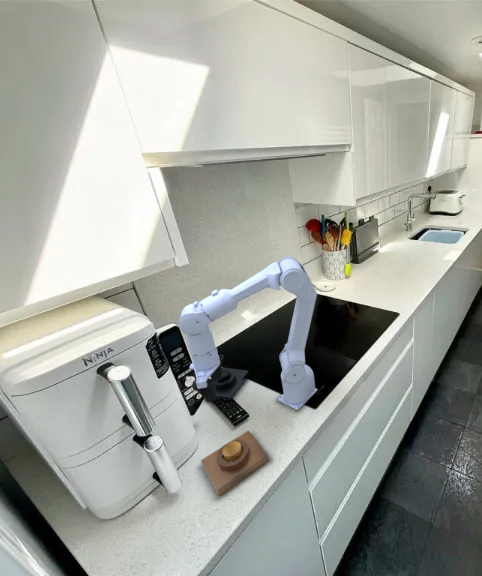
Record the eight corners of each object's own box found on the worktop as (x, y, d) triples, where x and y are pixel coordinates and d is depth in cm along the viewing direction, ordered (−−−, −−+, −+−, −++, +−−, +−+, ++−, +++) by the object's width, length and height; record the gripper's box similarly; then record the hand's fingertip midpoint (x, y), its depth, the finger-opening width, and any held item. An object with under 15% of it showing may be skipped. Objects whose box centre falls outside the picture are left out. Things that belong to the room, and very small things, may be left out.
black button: (221, 372, 100) (220, 368, 99) (232, 374, 99) (231, 370, 98) (213, 381, 96) (212, 377, 96) (225, 383, 96) (224, 378, 95)
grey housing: (222, 372, 105) (220, 363, 104) (249, 375, 104) (247, 366, 102) (199, 398, 95) (196, 388, 93) (229, 402, 93) (226, 392, 91)
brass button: (237, 443, 76) (236, 438, 76) (244, 453, 74) (243, 448, 73) (221, 453, 74) (219, 448, 73) (228, 464, 71) (226, 459, 71)
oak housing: (249, 436, 82) (247, 425, 81) (268, 460, 76) (266, 449, 74) (202, 466, 75) (198, 455, 73) (219, 496, 68) (215, 485, 67)
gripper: (193, 335, 83) (204, 374, 89) (176, 370, 71) (191, 413, 76) (221, 332, 85) (230, 370, 91) (209, 365, 72) (221, 408, 78)
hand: (214, 390), depth 84 cm, fingers open, 7 cm apart
